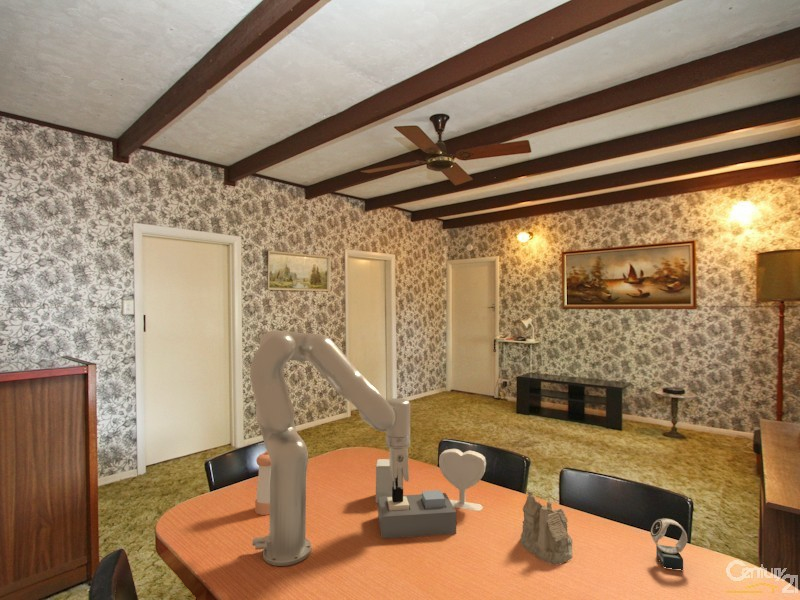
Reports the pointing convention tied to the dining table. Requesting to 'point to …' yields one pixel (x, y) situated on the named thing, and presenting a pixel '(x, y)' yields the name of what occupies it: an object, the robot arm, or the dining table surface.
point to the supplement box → (383, 479)
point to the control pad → (416, 519)
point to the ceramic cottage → (545, 532)
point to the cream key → (397, 504)
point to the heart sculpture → (462, 473)
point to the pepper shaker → (263, 484)
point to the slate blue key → (433, 499)
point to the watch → (667, 553)
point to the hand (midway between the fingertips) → (397, 500)
